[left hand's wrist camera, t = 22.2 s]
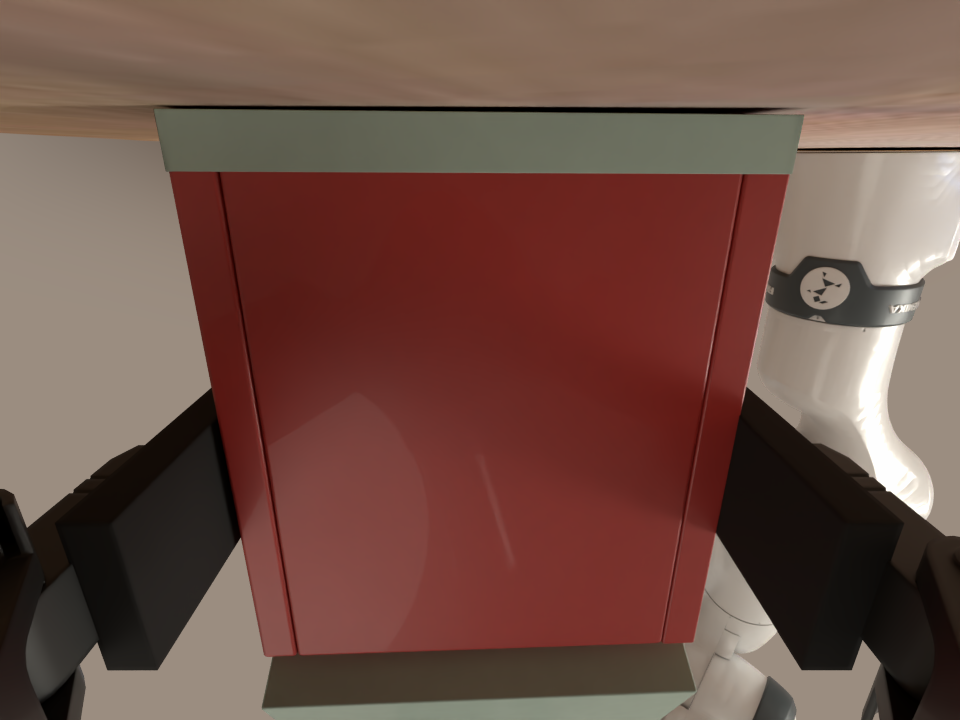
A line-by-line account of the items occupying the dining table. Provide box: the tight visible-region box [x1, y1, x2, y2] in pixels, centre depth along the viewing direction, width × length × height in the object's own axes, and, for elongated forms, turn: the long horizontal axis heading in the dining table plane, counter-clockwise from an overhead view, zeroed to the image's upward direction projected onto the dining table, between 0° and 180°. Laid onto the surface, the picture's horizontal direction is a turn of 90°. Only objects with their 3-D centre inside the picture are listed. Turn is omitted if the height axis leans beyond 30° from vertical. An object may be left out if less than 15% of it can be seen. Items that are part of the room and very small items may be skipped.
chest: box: [154, 109, 804, 657], centre depth 16 cm, size 13×10×11 cm
